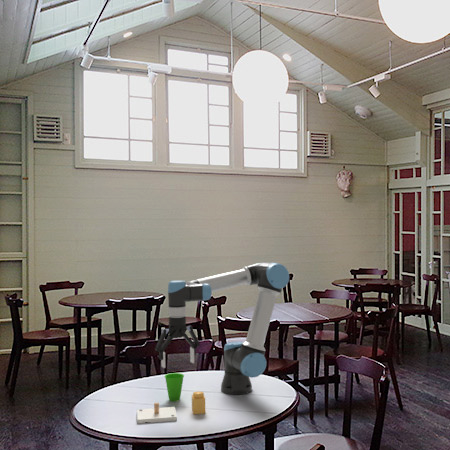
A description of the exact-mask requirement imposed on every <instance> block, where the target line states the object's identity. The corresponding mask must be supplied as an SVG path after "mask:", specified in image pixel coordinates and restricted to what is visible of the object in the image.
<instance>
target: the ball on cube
mask: <svg viewBox="0 0 450 450" xmlns="http://www.w3.org/2000/svg"><path fill="white" fill-rule="evenodd" d="M204 394H205V393H204V392H203V391H199V390H198V391H194V392H193V393H192V394H191V412H192V415H203V414H206V397H205V395H204Z"/></svg>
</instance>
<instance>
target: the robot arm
mask: <svg viewBox="0 0 450 450" xmlns="http://www.w3.org/2000/svg"><path fill="white" fill-rule="evenodd" d="M289 281H290V272H289V271H288V268H287V267H286V266H285V265H284V264H281V263H279V262H271V261H270V262H269V261H261V262H257V263H253V264H249V265H246V266H242V268H241V269H238V270H233V271H229V272H228V271H227V272H223V273H220V274H215V275H211V276H206V277H202V278H198V279H197V278H196V279H194V280H180V279H179V280H171V281H169V282H168V283H167V285H168V287H167V294H168V295H167V296H168V297H167V298H168V302H167V303H168V306H167V307H168V316H169V317H168V328H161V334H160V335H159V339H158V341H157V343H156V345H155V347H154V350H155V351H156V352H158V354H159V355H158V356H159V358H158V359H159V360H161V361H160V364H161V365H160V366H161V368H164V369H166V352H165V350H166V349H167V348H168V346H169V345H170V343H171V342H172V340H173V339H178V338H180V339H181V338H183V339H185V340H186V342H187V343H188V344H189V345H190V347H189V357H190V358H189V362H190V363H191V364H195V356H196V354H197V348H198V347H199V346H200V345H201V343H200V341H199V340H198V338H197V335H196V333H195V332H194V327H193V326H192V325H190V324H189V325H188V326H187V325H186V324H187V317H186V316H187V315H186V314H187V312H186V311H187V308H186V303H187V302H203V301H209V300H210V299H211V297H212V295H213V294H212V293H214V292H218V291H222V290H226V289H231V288H235V287H238V286H240V287H241V286H244V285H246V286H252V285H253V286H254V285H257V286H256V287H257V290H258V294H257V298H256V302H255V305H254V309H253V313H252V317H251V319H250V320H251V321H250V325H249V327H248V331H247V336H246V338H245V340H244V341H236V342H235V341H233V342H228V343H225V344H224V347H223V352H224V353H223V355H224V357H223V360H224V361H223V362H224V375H223V378H222V381H221V385H220V390H221V391H220V392H222V393H225V394H228V395H244V394H243V393H245V394H248V393H247V392H249V393H251V392H252V391H253V385H252V381H251V379H250V378H257V377H259V376H261V375H262V374H263V373H264V372H265V370H266V367H267V359H266V357H265V353H266V348H265V347H264V346H265V342H266V337H267V333H268V330H269V326H270V323H271V318H272V315H273V311H274V307H275V303H276V299H277V297H278V296H279V295H281V294H282V291H283V288H285V287H287V286H288V283H289ZM187 331H188V333H189V335H190V337H191V338H190V337H189V336H188V334H187V333H186V332H187ZM167 334H168V335H167ZM166 336H167V337H166ZM165 338H166V339H165ZM191 339H192V340H191ZM251 390H252V391H251Z"/></svg>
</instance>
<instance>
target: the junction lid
mask: <svg viewBox="0 0 450 450" xmlns="http://www.w3.org/2000/svg"><path fill="white" fill-rule="evenodd" d="M136 411H137V412H136V413H137V414H136V415H137V416H136V418H137V420H136V421H137V423H138V424H146V423H145V422H151V423H162V422H176V421H177V420H178V416H177V411H176V408H175V406H168V407H160V403H159V402H154V404H153V408H152V407H150V408H140V409H136Z"/></svg>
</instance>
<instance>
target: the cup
mask: <svg viewBox="0 0 450 450" xmlns="http://www.w3.org/2000/svg"><path fill="white" fill-rule="evenodd" d="M184 376H185V375H184V374H183V373H179V372H173V373H172V372H170V373H167V374H165V375H164V378H165V383H166V389H167V390H166V391H167V397H168V400H169V401H170V402H179V401H180V400H181V396H182V390H183V389H182V388H183V381H184Z"/></svg>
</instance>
